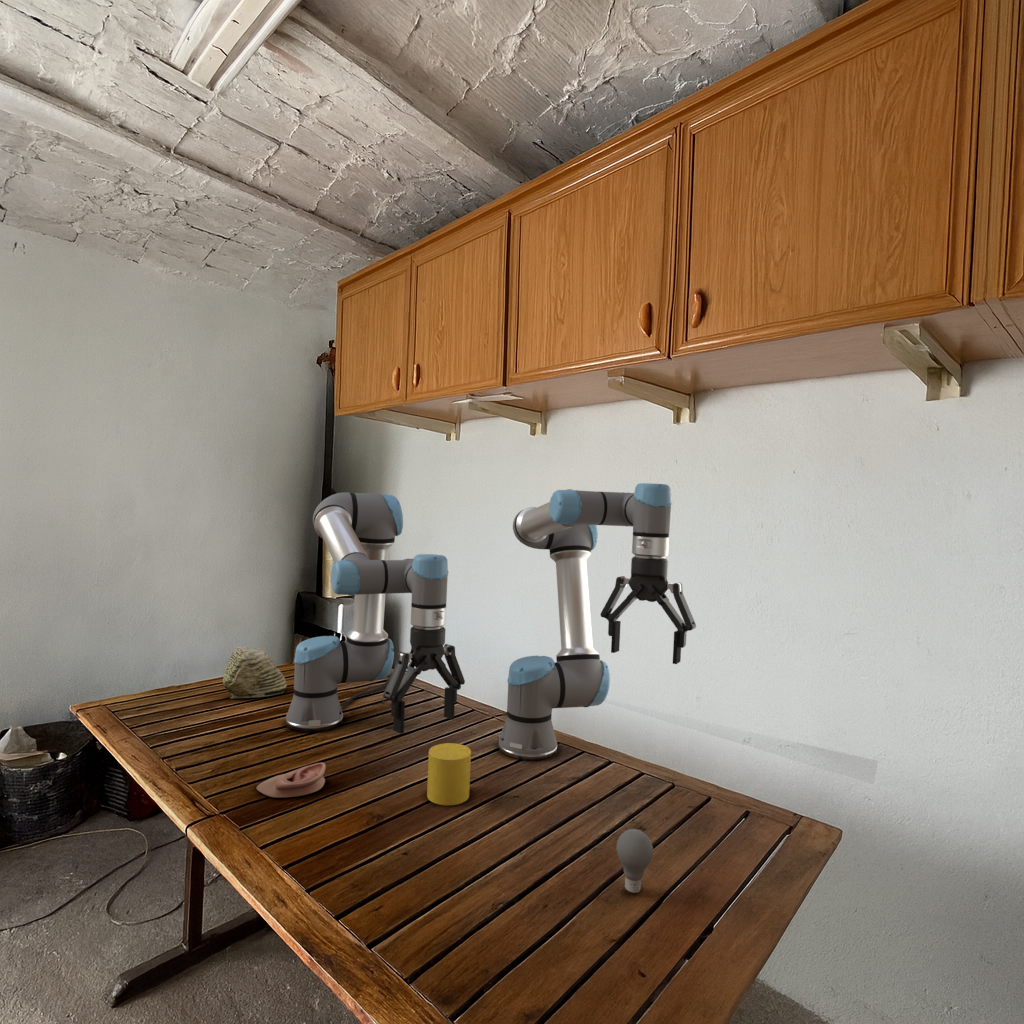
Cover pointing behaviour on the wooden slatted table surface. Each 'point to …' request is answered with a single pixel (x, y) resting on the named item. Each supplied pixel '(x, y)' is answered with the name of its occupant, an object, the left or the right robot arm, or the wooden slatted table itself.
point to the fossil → (252, 674)
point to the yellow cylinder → (448, 774)
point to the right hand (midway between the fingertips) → (644, 657)
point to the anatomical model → (295, 782)
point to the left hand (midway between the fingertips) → (424, 724)
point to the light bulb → (634, 857)
